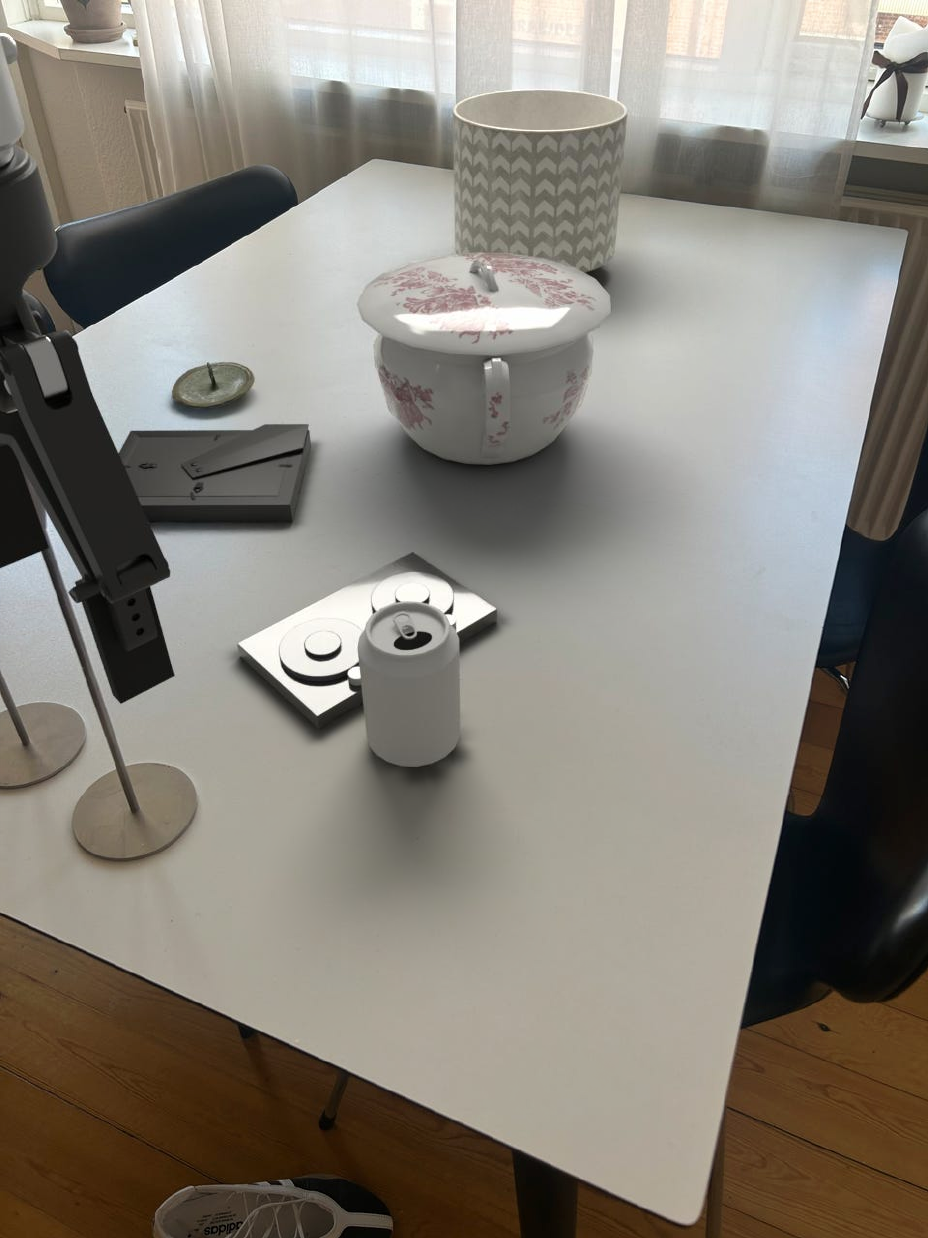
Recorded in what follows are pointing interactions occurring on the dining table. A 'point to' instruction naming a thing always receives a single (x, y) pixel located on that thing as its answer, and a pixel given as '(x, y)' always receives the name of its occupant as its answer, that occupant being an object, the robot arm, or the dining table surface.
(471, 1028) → the dining table surface
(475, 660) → the dining table surface
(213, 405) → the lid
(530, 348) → the chamber pot
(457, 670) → the can
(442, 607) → the hob
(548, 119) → the planter
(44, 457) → the robot arm
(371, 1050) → the dining table surface
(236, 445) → the picture frame
